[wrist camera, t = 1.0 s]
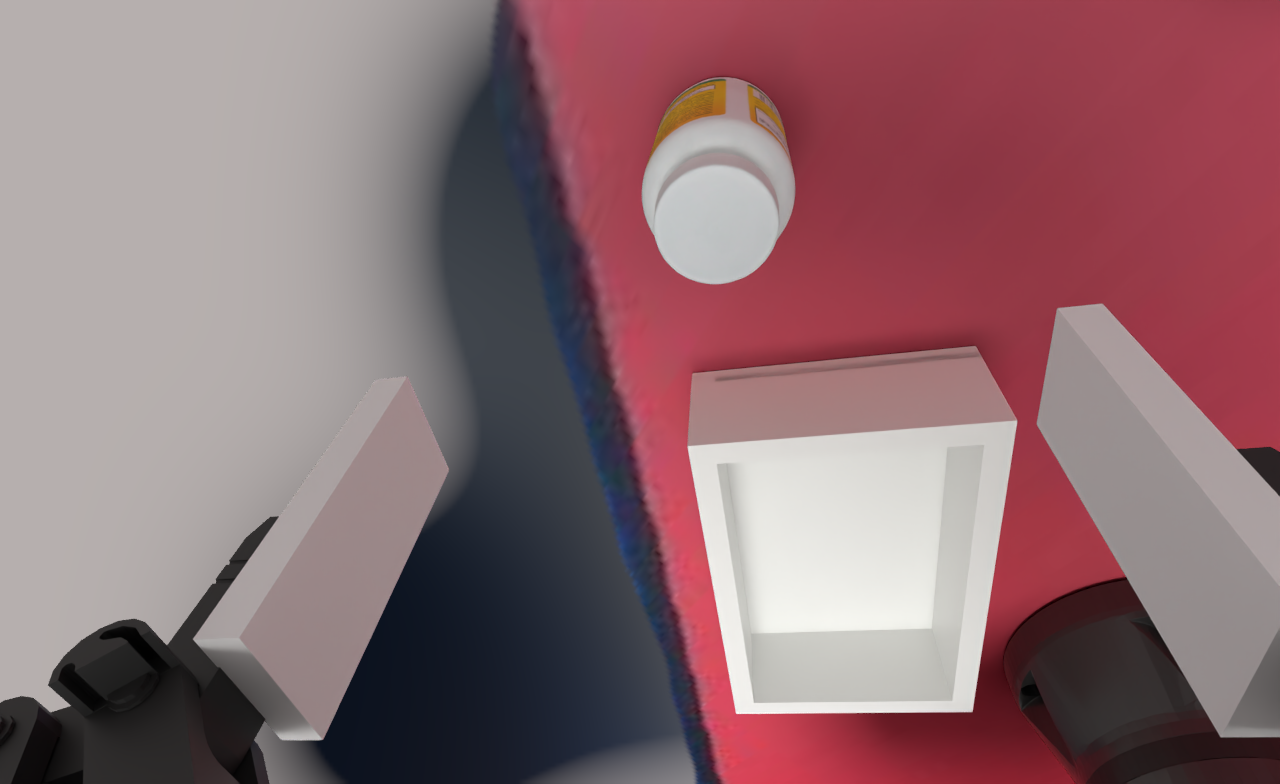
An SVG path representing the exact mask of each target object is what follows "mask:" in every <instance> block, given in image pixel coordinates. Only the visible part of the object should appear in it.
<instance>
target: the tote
mask: <svg viewBox="0 0 1280 784" xmlns="http://www.w3.org/2000/svg"><path fill="white" fill-rule="evenodd" d="M1016 427H1017V419H1016V417H1015V415H1014V413H1013V412H1012V410H1011V408H1010V406H1009V404H1008V403H1007V401H1006V399H1005V397H1004V396H1003V394H1002V392H1001V390H1000V388H999V387H998V385H997V383H996V381H995V379H994V378H993V376H992V374H991V372H990V370H989V369H988V367H987V365H986V363H985V362H984V360H983V358H982V356H981V354H980V353H979V351H978V349H977V347H976V346H969V347H958V348H948V349H938V350H927V351H917V352H906V353H896V354H886V355H875V356H865V357H855V358H844V359H834V360H824V361H813V362H803V363H792V364H782V365H772V366H761V367H751V368H741V369H730V370H720V371H709V372H699V373H692V383H691V398H690V414H689V429H688V445H687V447H688V452H689V458H690V463H691V469H692V474H693V479H694V485H695V490H696V496H697V501H698V507H699V512H700V518H701V523H702V529H703V534H704V540H705V545H706V551H707V556H708V562H709V567H710V573H711V578H712V584H713V589H714V594H715V600H716V605H717V611H718V616H719V622H720V627H721V633H722V638H723V644H724V649H725V655H726V660H727V666H728V671H729V677H730V682H731V688H732V693H733V698H734V704H735V709H736V714H784V713H912V712H973V705H974V699H975V692H976V686H977V679H978V673H979V666H980V660H981V653H982V647H983V640H984V634H985V627H986V621H987V614H988V608H989V602H990V595H991V589H992V582H993V576H994V569H995V563H996V556H997V550H998V543H999V537H1000V530H1001V524H1002V517H1003V511H1004V504H1005V498H1006V491H1007V485H1008V479H1009V472H1010V466H1011V459H1012V453H1013V446H1014V440H1015V433H1016Z"/></svg>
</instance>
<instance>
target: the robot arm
mask: <svg viewBox="0 0 1280 784" xmlns="http://www.w3.org/2000/svg"><path fill="white" fill-rule="evenodd" d="M1037 426H1038V428H1039V429H1040V431H1041V433H1042V434H1043V436H1044V438H1045V439H1046V441H1047V443H1048V445H1049V446H1050V448H1051V450H1052V451H1053V453H1054V455H1055V457H1056V458H1057V460H1058V462H1059V463H1060V465H1061V467H1062V468H1063V470H1064V472H1065V474H1066V475H1067V477H1068V479H1069V480H1070V482H1071V484H1072V485H1073V487H1074V489H1075V491H1076V492H1077V494H1078V496H1079V497H1080V499H1081V501H1082V502H1083V504H1084V506H1085V508H1086V509H1087V511H1088V513H1089V514H1090V516H1091V518H1092V519H1093V521H1094V523H1095V525H1096V526H1097V528H1098V530H1099V531H1100V533H1101V535H1102V536H1103V538H1104V540H1105V542H1106V543H1107V545H1108V547H1109V548H1110V550H1111V552H1112V553H1113V555H1114V557H1115V559H1116V560H1117V562H1118V564H1119V565H1120V567H1121V569H1122V570H1123V572H1124V574H1125V576H1126V577H1127V579H1128V580H1124V581H1118V582H1113V583H1108V584H1104V585H1100V586H1096V587H1093V588H1089V589H1086V590H1083V591H1080V592H1078V593H1075V594H1072V595H1070V596H1068V597H1065V598H1063V599H1061V600H1059V601H1057V602H1055V603H1053V604H1051V605H1049V606H1048V607H1046V608H1044V609H1043V610H1041V611H1040V612H1038V613H1037V614H1035V615H1034V616H1033V617H1031V618H1030V619H1029V620H1028V621H1027V622H1025V623H1024V624H1023V625H1022V626H1021V627H1020V628H1019V629H1018V631H1017V632H1016V633H1015V634H1014V636H1013V637H1012V638H1011V640H1010V642H1009V643H1008V646H1007V648H1006V651H1005V654H1004V661H1003V665H1004V672H1005V675H1006V678H1007V680H1008V683H1009V686H1010V689H1011V691H1012V694H1013V697H1014V700H1015V702H1016V704H1017V706H1018V708H1019V709H1020V711H1021V713H1022V714H1023V715H1024V717H1025V718H1026V719H1027V721H1028V722H1029V723H1030V725H1031V726H1032V727H1033V728H1034V730H1035V731H1036V732H1037V734H1038V735H1039V736H1040V738H1041V739H1042V740H1043V741H1044V743H1045V744H1046V745H1047V747H1048V748H1049V749H1050V751H1051V752H1052V753H1053V754H1054V756H1055V757H1056V758H1057V760H1058V761H1059V762H1060V764H1061V765H1062V766H1063V767H1064V769H1065V770H1066V771H1067V773H1068V774H1069V775H1070V777H1071V778H1072V779H1073V780H1074V782H1075V783H1076V784H1280V452H1279V451H1277V450H1275V449H1273V448H1271V447H1263V448H1248V449H1235V447H1234V446H1233V445H1232V444H1231V443H1230V442H1229V441H1228V440H1227V439H1226V438H1225V437H1224V435H1223V434H1222V433H1221V432H1220V431H1219V430H1218V429H1217V428H1216V427H1215V426H1214V425H1213V423H1212V422H1211V421H1210V420H1209V419H1208V418H1207V417H1206V416H1205V415H1204V414H1203V413H1202V411H1201V410H1200V409H1199V408H1198V407H1197V406H1196V405H1195V404H1194V403H1193V402H1192V401H1191V399H1190V398H1189V397H1188V396H1187V395H1186V394H1185V393H1184V392H1183V391H1182V390H1181V389H1180V388H1179V386H1178V385H1177V384H1176V383H1175V382H1174V381H1173V380H1172V379H1171V378H1170V377H1169V376H1168V374H1167V373H1166V372H1165V371H1164V370H1163V369H1162V368H1161V367H1160V366H1159V365H1158V364H1157V362H1156V361H1155V360H1154V359H1153V358H1152V357H1151V356H1150V355H1149V354H1148V353H1147V352H1146V350H1145V349H1144V348H1143V347H1142V346H1141V345H1140V344H1139V343H1138V342H1137V341H1136V340H1135V338H1134V337H1133V336H1132V335H1131V334H1130V333H1129V332H1128V331H1127V330H1126V329H1125V328H1124V326H1123V325H1122V324H1121V323H1120V322H1119V321H1118V320H1117V319H1116V318H1115V317H1114V316H1113V314H1112V313H1111V312H1110V311H1109V310H1108V309H1107V308H1106V307H1105V306H1104V305H1103V304H1093V305H1083V306H1074V307H1064V308H1057V312H1056V318H1055V323H1054V329H1053V335H1052V340H1051V346H1050V351H1049V357H1048V363H1047V368H1046V374H1045V380H1044V385H1043V391H1042V397H1041V402H1040V408H1039V414H1038V419H1037ZM448 471H449V469H448V466H447V464H446V462H445V460H444V457H443V455H442V453H441V451H440V448H439V446H438V444H437V442H436V439H435V437H434V435H433V433H432V430H431V428H430V426H429V424H428V421H427V419H426V417H425V415H424V412H423V410H422V408H421V406H420V404H419V401H418V399H417V397H416V394H415V392H414V390H413V388H412V385H411V383H410V381H409V379H408V377H407V376H406V377H396V378H387V379H377V380H375V381H374V383H373V384H372V386H371V387H370V388H369V390H368V391H367V393H366V394H365V395H364V397H363V398H362V400H361V401H360V403H359V404H358V406H357V407H356V408H355V410H354V411H353V412H352V414H351V416H350V417H349V418H348V420H347V421H346V422H345V424H344V425H343V427H342V428H341V430H340V431H339V433H338V434H337V435H336V437H335V438H334V440H333V441H332V442H331V444H330V445H329V447H328V448H327V450H326V451H325V452H324V454H323V455H322V457H321V458H320V460H319V461H318V462H317V464H316V465H315V466H314V468H313V469H312V471H311V472H310V474H309V475H308V476H307V478H306V479H305V481H304V482H303V484H302V485H301V486H300V488H299V489H298V491H297V492H296V493H295V495H294V496H293V498H292V499H291V501H290V502H289V503H288V505H287V506H286V508H285V509H284V511H283V512H282V513H281V515H280V516H278V517H270V518H269V519H267V520H266V521H265V522H264V523H263V524H262V525H260V526H259V527H258V528H257V529H256V530H255V531H253V532H252V533H251V534H250V535H249V536H248V537H246V539H245V540H244V542H243V543H242V544H241V545H240V547H239V548H238V550H237V551H236V552H235V554H234V555H233V557H232V558H231V559H230V560H229V561H230V564H229V565H226V566H225V567H224V569H223V570H222V571H221V573H220V574H219V575H218V577H217V578H216V584H212V585H211V587H210V588H209V589H208V591H207V592H206V593H205V595H204V596H203V597H202V599H201V600H200V601H199V603H198V604H197V606H196V607H195V608H194V610H193V611H192V612H191V614H190V615H189V617H188V618H187V619H186V621H185V622H184V623H183V625H182V626H181V627H180V629H179V630H178V632H177V633H176V634H175V636H174V637H173V638H172V640H171V641H170V642H169V644H168V645H166V644H165V643H164V642H163V641H162V640H161V639H160V638H159V637H158V636H157V635H156V633H155V632H154V631H153V630H152V629H151V628H150V627H149V626H148V625H147V624H146V623H145V622H143V621H140V620H137V619H129V620H122V621H117V622H115V623H113V624H110V625H108V626H105V627H103V628H100V629H99V630H97V631H96V632H94V633H92V634H91V635H89V636H88V637H86V638H85V639H83V640H81V641H80V642H79V643H78V644H77V645H76V646H75V647H74V648H73V649H71V650H70V651H69V652H68V653H67V654H66V655H65V656H64V657H63V659H62V660H61V661H60V663H59V664H58V665H57V667H56V668H55V669H54V671H53V673H52V676H51V679H50V681H49V684H48V686H49V687H51V688H52V689H53V690H54V691H55V692H56V693H57V694H59V695H60V696H61V697H62V698H63V699H64V700H65V701H67V702H68V703H69V704H70V705H71V706H70V707H67V708H63V709H60V710H57V711H54V712H51V713H50V712H49V711H48V710H47V709H46V708H45V707H43V706H42V705H41V704H40V703H39V702H37V701H36V700H35V699H34V698H30V697H23V696H22V697H21V696H20V697H16V698H13V699H9V700H5V701H3V702H1V703H0V784H269V780H268V775H267V771H266V767H265V761H264V757H263V753H262V751H261V749H260V748H259V746H258V744H257V743H256V742H255V741H254V739H255V737H256V735H257V733H258V732H259V730H260V728H261V726H262V724H263V722H264V721H265V722H266V723H267V724H268V725H269V726H270V728H271V729H272V730H273V731H274V732H275V733H276V734H277V736H278V737H279V738H280V739H281V740H323V738H324V736H325V734H326V732H327V730H328V728H329V725H330V723H331V721H332V719H333V717H334V715H335V713H336V711H337V708H338V706H339V704H340V702H341V700H342V698H343V696H344V693H345V691H346V689H347V687H348V685H349V683H350V681H351V679H352V676H353V674H354V672H355V670H356V668H357V666H358V664H359V661H360V659H361V657H362V655H363V653H364V651H365V648H366V646H367V644H368V642H369V640H370V638H371V636H372V634H373V632H374V629H375V627H376V625H377V623H378V621H379V619H380V617H381V614H382V612H383V610H384V608H385V606H386V604H387V601H388V600H389V597H390V595H391V593H392V591H393V589H394V587H395V584H396V582H397V580H398V578H399V576H400V574H401V572H402V569H403V567H404V565H405V563H406V561H407V559H408V557H409V555H410V553H411V550H412V548H413V546H414V544H415V542H416V540H417V538H418V535H419V533H420V531H421V529H422V527H423V525H424V523H425V520H426V518H427V516H428V514H429V512H430V510H431V508H432V506H433V503H434V501H435V499H436V497H437V495H438V493H439V491H440V488H441V486H442V484H443V482H444V480H445V478H446V476H447V473H448Z"/></svg>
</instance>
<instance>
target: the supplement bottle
mask: <svg viewBox="0 0 1280 784" xmlns="http://www.w3.org/2000/svg"><path fill="white" fill-rule="evenodd" d="M794 200H795V178H794V172H793V167H792V162H791V158H790V154H789V149H788V145H787V141H786V135H785V131H784V126H783V123H782V120H781V117H780V115H779V112H778V110H777V109H776V107H775V105H774V104H773V102H772V101H771V100H770V98H769V97H768V96H767V95H766V94H765V93H764V92H763V91H761V90H760V89H759V88H757V87H756V86H754V85H752V84H751V83H748V82H746V81H743V80H740V79H736V78H731V77H717V78H711V79H707V80H704V81H701V82H699V83H697V84H695V85H693V86H691V87H689V88H688V89H686V90H685V91H684V92H682V93H681V94H680V95H679V96H678V97H677V98H676V99H675V100H674V101H673V102H672V103H671V104H670V106H669V107H668V109H667V110H666V112H665V114H664V116H663V118H662V120H661V122H660V125H659V128H658V131H657V135H656V138H655V142H654V145H653V148H652V151H651V154H650V157H649V160H648V163H647V166H646V170H645V173H644V178H643V184H642V204H643V209H644V214H645V217H646V220H647V223H648V225H649V227H650V229H651V231H652V233H653V234H654V236H655V240H656V243H657V246H658V249H659V251H660V253H661V254H662V256H663V258H664V259H665V261H666V262H667V263H668V264H669V265H670V266H671V267H672V268H673V269H674V270H675V271H677V272H678V273H679V274H681V275H683V276H684V277H686V278H688V279H691V280H693V281H697V282H700V283H706V284H724V283H730V282H733V281H736V280H739V279H742V278H744V277H746V276H748V275H749V274H751V273H752V272H754V271H755V270H756V269H758V268H759V267H760V266H761V265H762V264H763V263H764V262H765V260H766V259H767V258H768V256H769V255H770V253H771V252H772V250H773V248H774V246H775V243H776V240H777V239H778V238H779V236H780V235H781V233H782V232H783V230H784V229H785V227H786V225H787V223H788V221H789V219H790V216H791V213H792V210H793V206H794Z"/></svg>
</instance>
